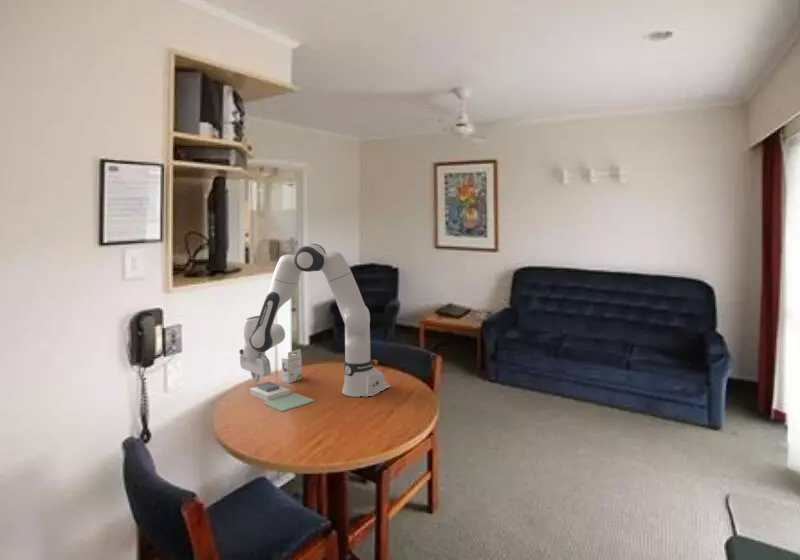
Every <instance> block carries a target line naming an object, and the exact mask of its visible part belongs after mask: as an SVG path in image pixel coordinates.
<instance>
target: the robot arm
mask: <svg viewBox="0 0 800 560" xmlns="http://www.w3.org/2000/svg"><path fill="white" fill-rule="evenodd" d="M319 271H321V272H322V273H323V274H324V276H325V278H326V282H327V283H328V286H329V289H330V291H331V293H332V295H333V297H334V299H335V302H336V306H337V307H338V310H339V313H340V315H341V318H342V321H343V323H344V353H345V354H344V355H345V356H344V365H343V366H344V379H343V386H342V390H341V393H342V394H343V395H345V396H348V397H355V398H357V397H358V398H359V397H360V396H362V397H368V396H372V397H374V396H373V395H375V394H377V393H379V392H380V391H383V390H384V389H386V388H388V387H390V388H391V384H389V383H388V382H386V377H385V375H384V374H383V372H381V371H379V370H378V369H377V368H375V367H374V365H378V360H377V359H371V331H370V330H371V328H370V327H371V326H370V323H371V314H370V311H369V308H368V307H367V306H366V305H365V301H364V300H363V296H362V294H361V292H360V289H359V286H358V284H357V282H356V279H355V277H354V274H353V272H352V270H351V268H350V266H349V263H348V262H347V260H346V259H345V258H344V255H343V254H342V253H341V252H339V251H330V252H328V253H326V250H325V248H324V247H322V246H321V245H320V244H317V243H309V244H305V245H303V246H302V247H300V248H298V249H297V251H295V254H294V255H293V254H288V253H287V254H283V255H282V256H280V257H279V260H278V261H277V264H276V266H275V268H274V271H273V275H272V278H271V279H272V280H271V282H270V283H271V284H270V286H269V290H268V292H267V295H266V297H265V300H264V301H263V304H262V307H261V310H260V314H259V315H255V316H254V315H253V316H251V317H248V318H246V319H245V320H244V323H243V337H244V345H243V346H244V347H243V348H239V349H238V353H239V361H240V367H241V369H242V370H245V371H248V372H250V376H251V378H252V381H253V382H254V383H256V384H257V383H260V378H261V377H268V376H271V374H272V369H271V361H270V360H269V358H268V357H267V356H268V355H266V352H267V351H269V350H270V349H271V348H274V347H276V346H277V345H279V344H281V343H282V342H283V341H284V340H285V338H286V336H285V335H286V331H285V329H284V327H283V326H282V325H281V324H279V323H275V319H276V316H277V313H278V311H279V310H280V309H281V307H282V306H284V305H285V304H286V303H287V302H288V301H289V300H291V299H292V298H293V297H294V295H295V294H296V291H297V289H298V285H299V280H300V277H301V274H302V272H319ZM386 384H387V385H386ZM383 392H384V391H383ZM379 394H380V393H379ZM377 395H378V394H377ZM375 396H376V395H375Z"/></svg>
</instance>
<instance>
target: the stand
mask: <svg viewBox="0 0 800 560" xmlns="http://www.w3.org/2000/svg"><path fill="white" fill-rule="evenodd" d="M289 394H291V393H290V388H287V387H284V386H282V385H279V389H277V390H273V391H270V392H266V391H263V390H261V389H258V388H257V386H254V387H251V388H249V395H252V396H254V397H255V398H259V399H260V400H263V401H264V402H265V401H269V400H272V399H276V398H279V397H282V396H286V395H289Z"/></svg>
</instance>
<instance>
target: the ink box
mask: <svg viewBox="0 0 800 560" xmlns="http://www.w3.org/2000/svg"><path fill="white" fill-rule="evenodd" d="M301 350H302V349H301V348H299V349H295V350H291V351H288V352H287V355H286V356H283V357H281V378H282V382H284V383H287V384H290V383H293V381H294V382H296V380H297V381H299V380H303V366H302V365H303V361H302V351H301Z"/></svg>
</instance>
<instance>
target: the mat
mask: <svg viewBox="0 0 800 560" xmlns="http://www.w3.org/2000/svg"><path fill="white" fill-rule="evenodd" d="M315 401H316V400H315V399H312V398H309V397H307V396H305V395H301V394H300V393H298V392H294V393H290V394H289V395H286V396H282V397H279V398H276V399H272V400H269V401H265V400H264V401H263V402H262V404H264V405H266V406H268V407H270V408H273V409H275V410H277V411H278V412H281V413H283V412H286V411H288V410H293V409H296V408H298V407H301V406H304V405H308V404H311V403H314V402H315Z"/></svg>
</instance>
